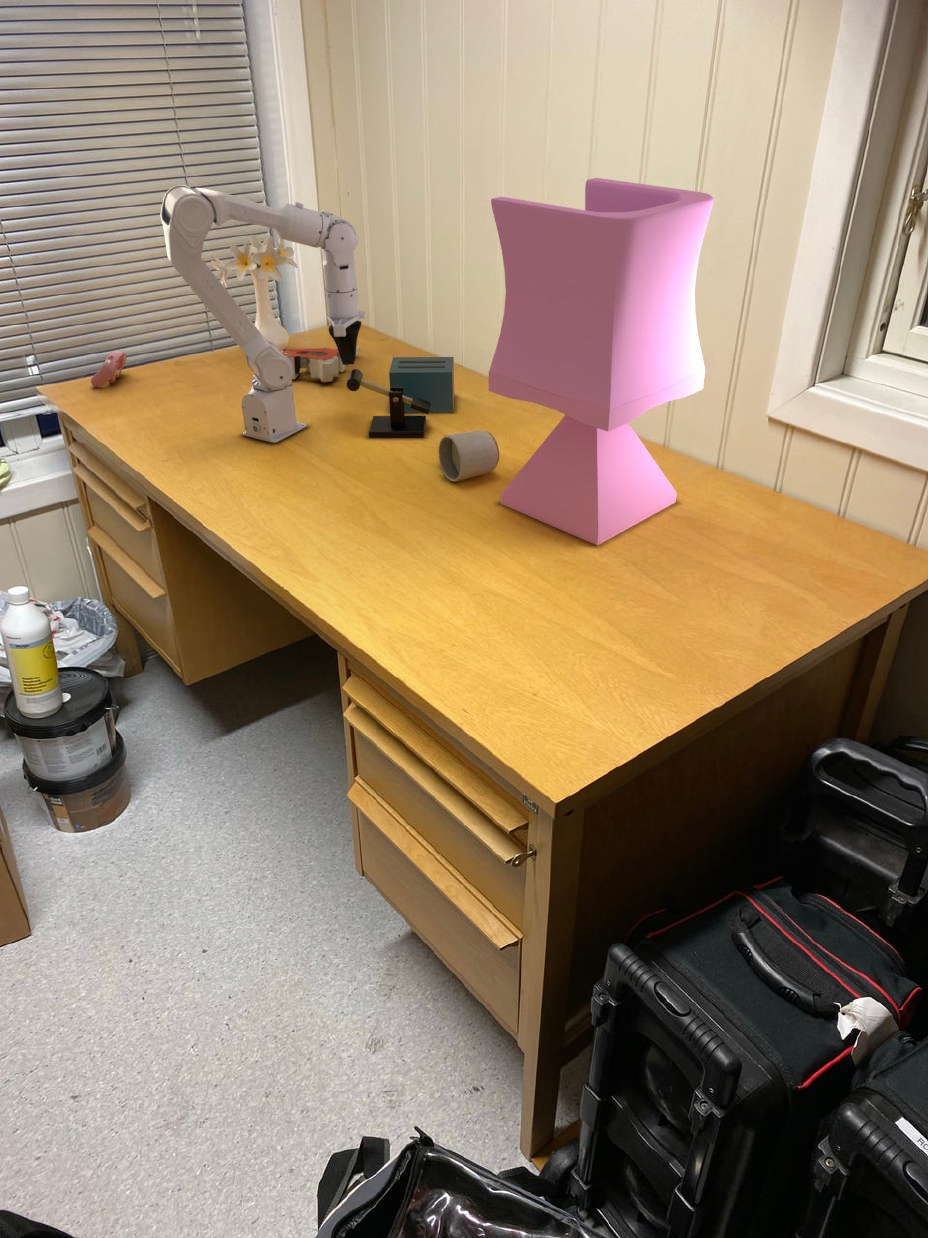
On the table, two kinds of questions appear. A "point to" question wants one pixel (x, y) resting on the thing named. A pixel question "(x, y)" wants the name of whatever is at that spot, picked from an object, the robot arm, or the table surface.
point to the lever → (384, 391)
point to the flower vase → (260, 280)
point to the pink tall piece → (598, 344)
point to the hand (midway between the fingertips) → (348, 363)
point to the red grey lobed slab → (317, 362)
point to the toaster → (425, 380)
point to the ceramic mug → (468, 454)
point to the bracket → (397, 420)
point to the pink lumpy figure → (110, 369)
